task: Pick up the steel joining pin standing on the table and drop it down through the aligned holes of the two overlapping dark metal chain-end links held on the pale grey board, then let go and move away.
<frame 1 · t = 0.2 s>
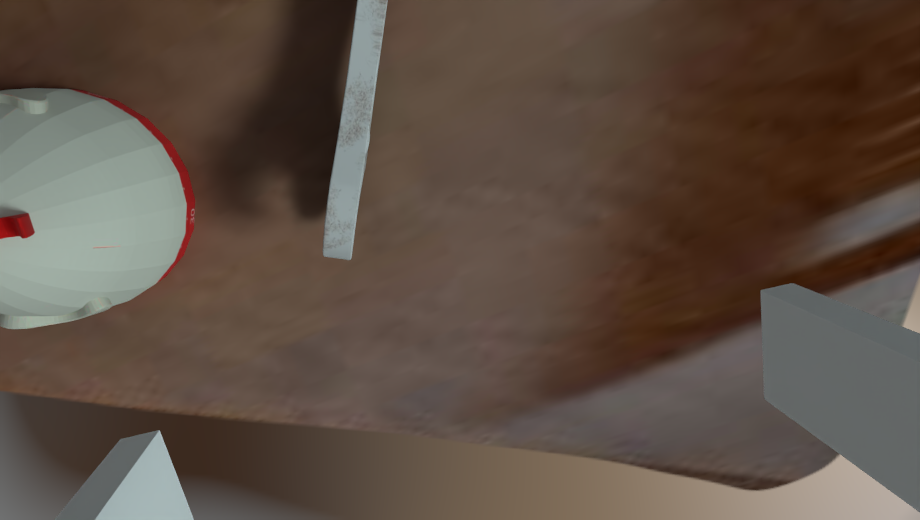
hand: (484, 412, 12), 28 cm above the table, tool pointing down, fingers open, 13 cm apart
wrench: (372, 15, 35), on the table
kitchen timer: (84, 199, 36), on the table
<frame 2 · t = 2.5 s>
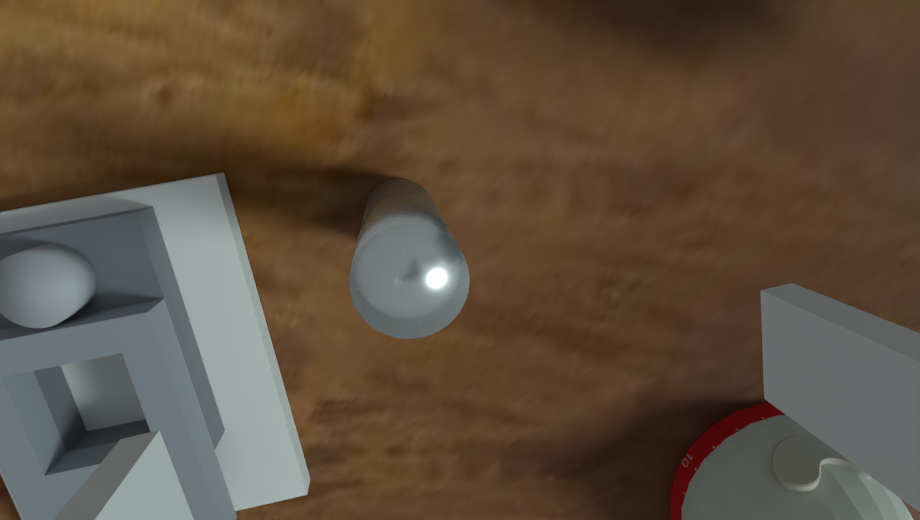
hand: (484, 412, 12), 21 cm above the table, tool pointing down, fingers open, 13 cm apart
joining pin: (400, 213, 32), on the table
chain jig: (132, 366, 32), on the table
kitchen timer: (755, 484, 40), on the table
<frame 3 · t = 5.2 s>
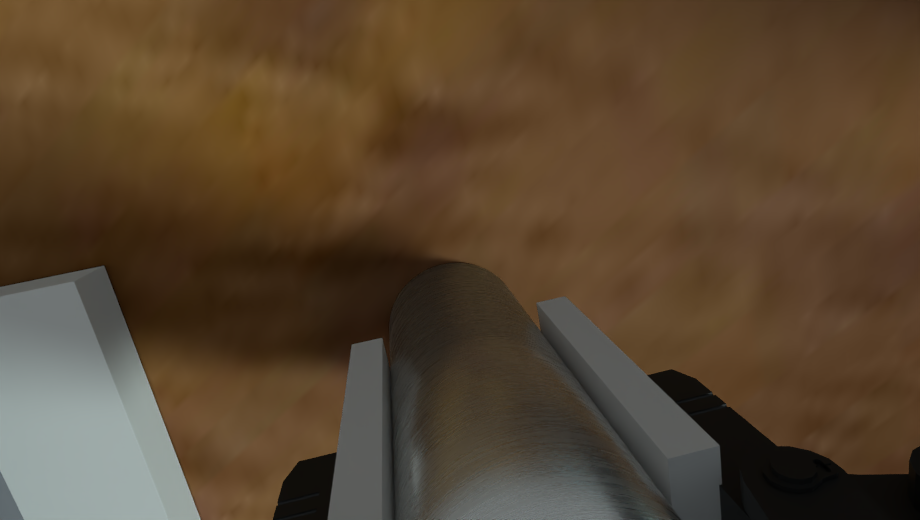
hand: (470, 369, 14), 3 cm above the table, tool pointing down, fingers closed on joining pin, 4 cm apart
joining pin: (454, 326, 17), on the table, touching gripper
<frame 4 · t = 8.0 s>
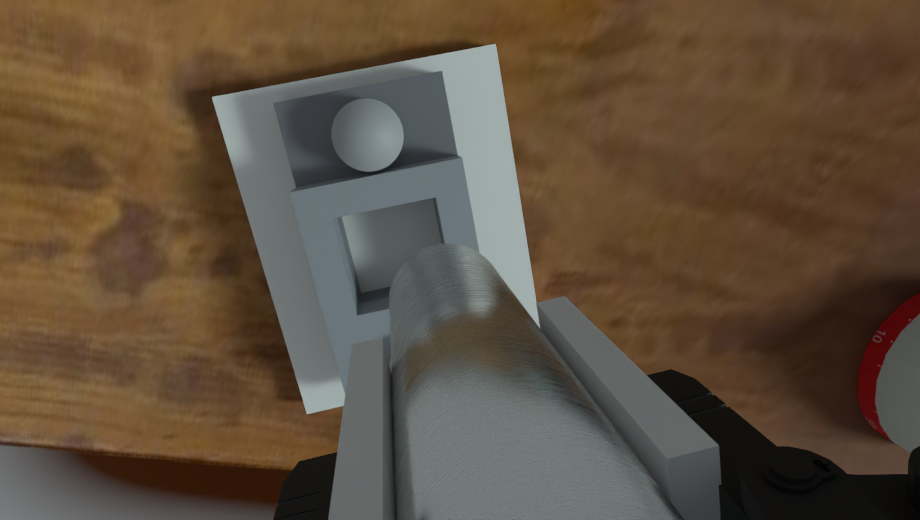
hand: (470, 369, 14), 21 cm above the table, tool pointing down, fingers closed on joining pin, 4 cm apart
joining pin: (446, 299, 19), point 16 cm above the table, touching gripper
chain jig: (394, 236, 34), on the table
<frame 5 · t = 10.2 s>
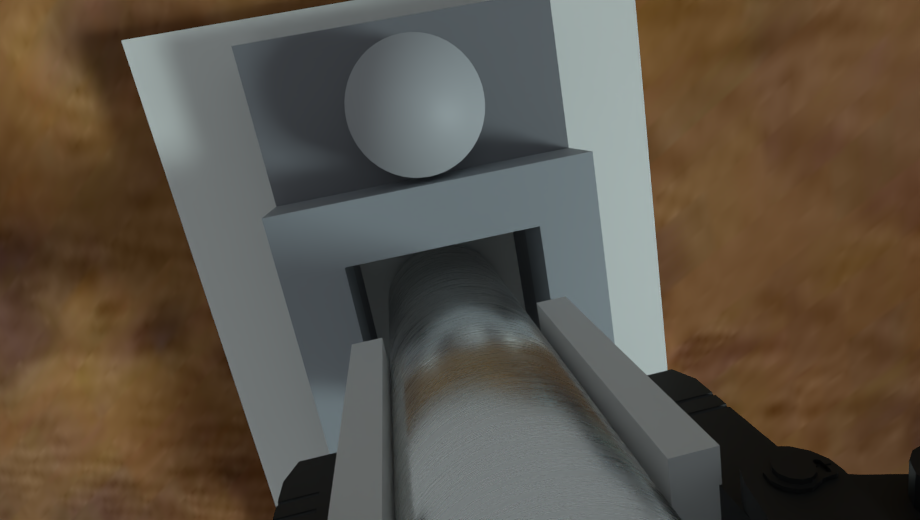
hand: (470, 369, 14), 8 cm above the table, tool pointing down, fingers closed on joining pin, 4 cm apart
joining pin: (445, 299, 19), point 2 cm above the table, touching gripper
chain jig: (442, 282, 21), on the table
when the fingers open (7 cm above the table, at t = 11.2 s): joining pin stays where it is, resting on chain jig.
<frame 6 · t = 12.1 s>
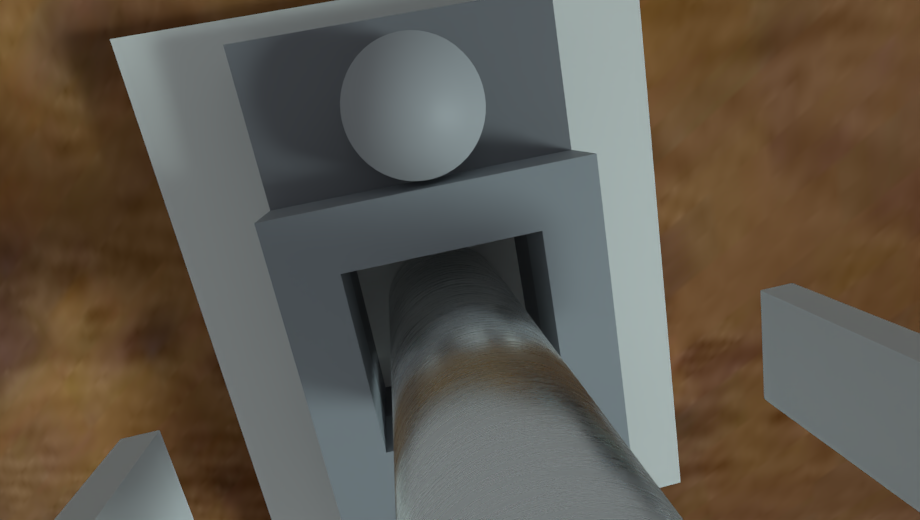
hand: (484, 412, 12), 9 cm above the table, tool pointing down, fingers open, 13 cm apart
joining pin: (446, 299, 19), point 1 cm above the table, touching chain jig
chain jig: (441, 287, 20), on the table
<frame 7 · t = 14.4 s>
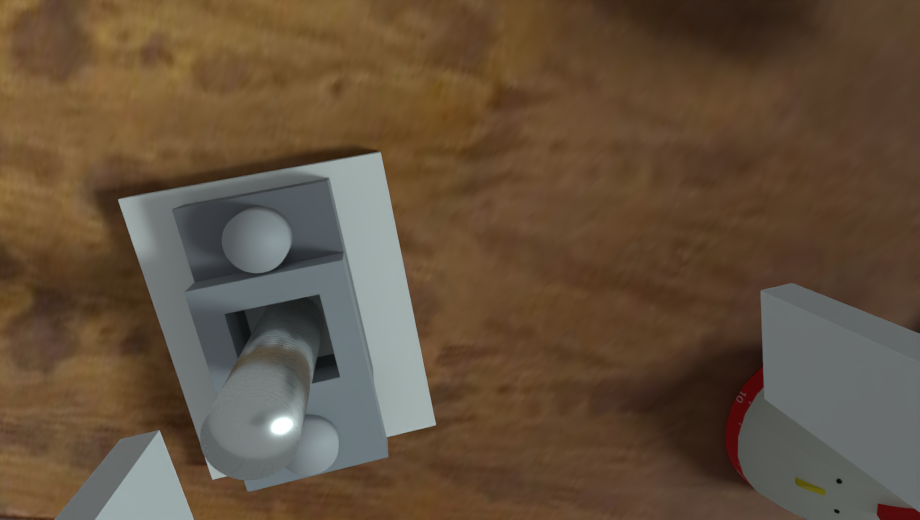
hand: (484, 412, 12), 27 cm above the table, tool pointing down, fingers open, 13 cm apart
joining pin: (292, 323, 36), point 1 cm above the table, touching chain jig
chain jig: (295, 315, 38), on the table
kitchen timer: (795, 419, 48), on the table
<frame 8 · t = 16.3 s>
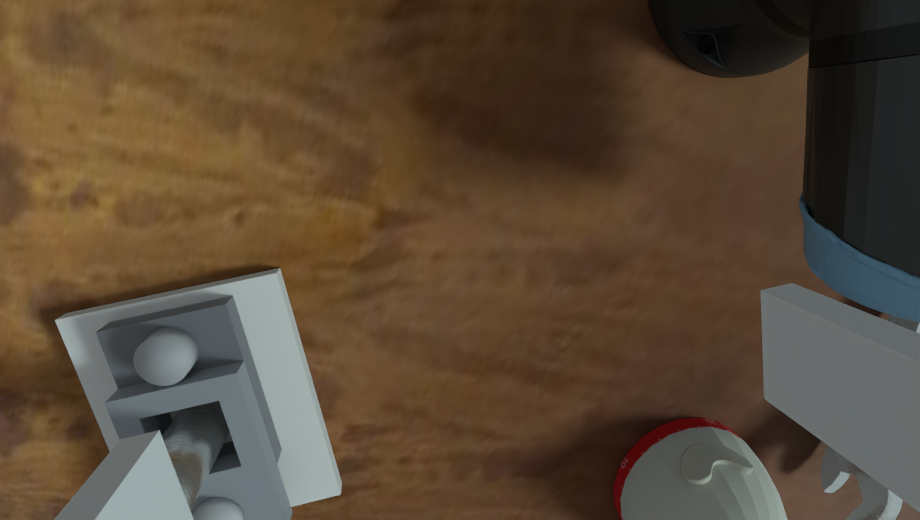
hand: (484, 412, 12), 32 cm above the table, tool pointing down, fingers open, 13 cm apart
joining pin: (209, 413, 43), point 1 cm above the table, touching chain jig
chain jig: (214, 404, 44), on the table
wrench: (865, 347, 52), on the table
kitchen timer: (680, 480, 53), on the table
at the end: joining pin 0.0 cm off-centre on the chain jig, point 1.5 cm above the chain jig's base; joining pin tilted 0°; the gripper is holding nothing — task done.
